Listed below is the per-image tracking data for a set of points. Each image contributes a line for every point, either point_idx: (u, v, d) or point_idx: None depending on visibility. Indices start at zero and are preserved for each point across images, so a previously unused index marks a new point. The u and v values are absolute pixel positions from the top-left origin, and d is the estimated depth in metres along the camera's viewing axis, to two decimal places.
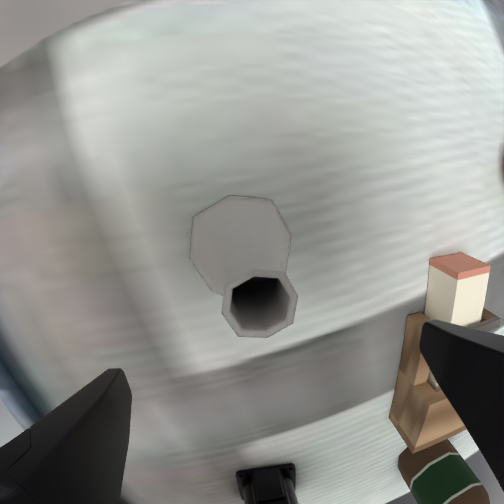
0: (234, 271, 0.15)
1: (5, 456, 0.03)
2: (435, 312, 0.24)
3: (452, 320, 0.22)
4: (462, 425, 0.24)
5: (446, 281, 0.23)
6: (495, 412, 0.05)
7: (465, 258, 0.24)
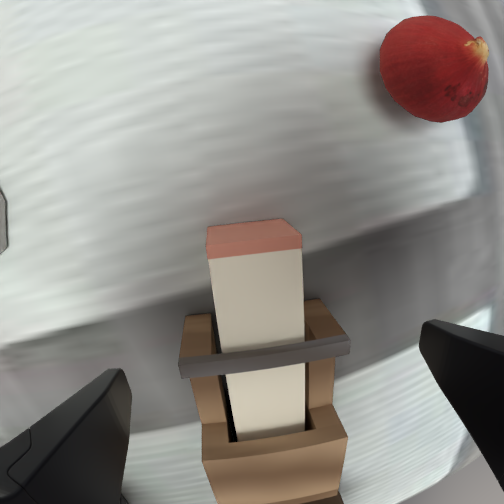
0: None
1: (5, 456, 0.03)
2: None
3: (221, 332, 0.15)
4: (311, 494, 0.17)
5: None
6: (495, 412, 0.05)
7: (272, 225, 0.16)
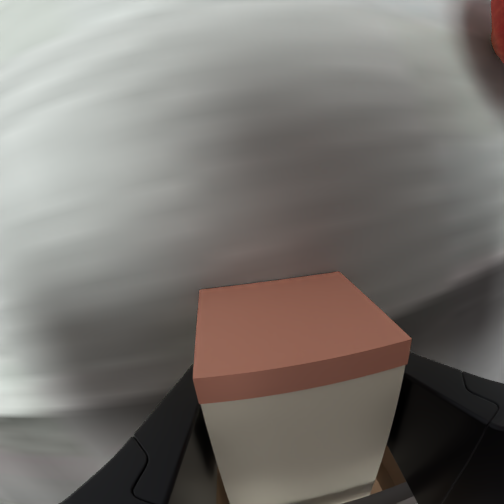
0: None
1: (119, 474, 0.04)
2: None
3: (232, 496, 0.06)
4: None
5: None
6: (420, 450, 0.05)
7: (329, 294, 0.08)
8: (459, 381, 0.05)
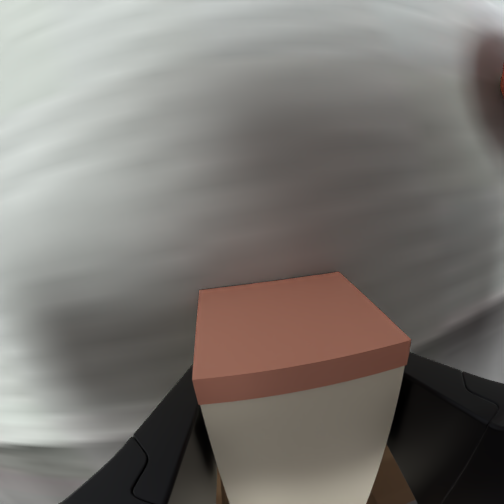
0: None
1: (119, 474, 0.04)
2: None
3: (232, 496, 0.06)
4: None
5: None
6: (420, 450, 0.05)
7: (329, 294, 0.08)
8: (459, 381, 0.05)
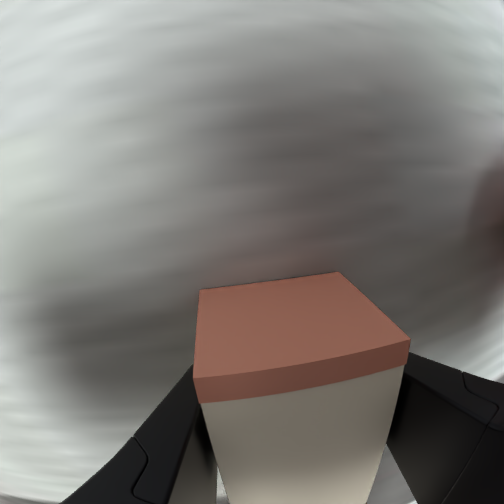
0: None
1: (119, 474, 0.04)
2: None
3: (232, 495, 0.06)
4: None
5: None
6: (420, 449, 0.05)
7: (329, 294, 0.08)
8: (459, 381, 0.05)
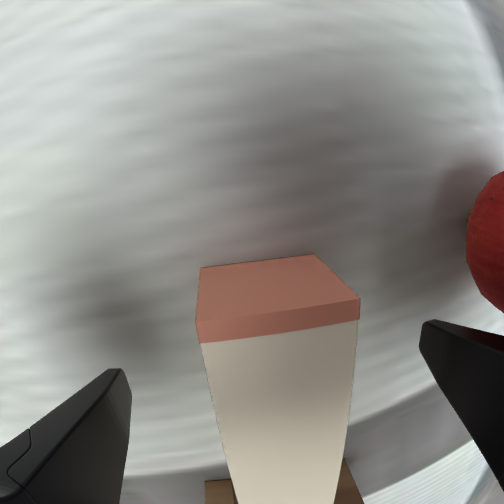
0: None
1: (5, 456, 0.03)
2: None
3: (225, 437, 0.09)
4: None
5: None
6: (495, 412, 0.05)
7: (303, 270, 0.10)
8: None
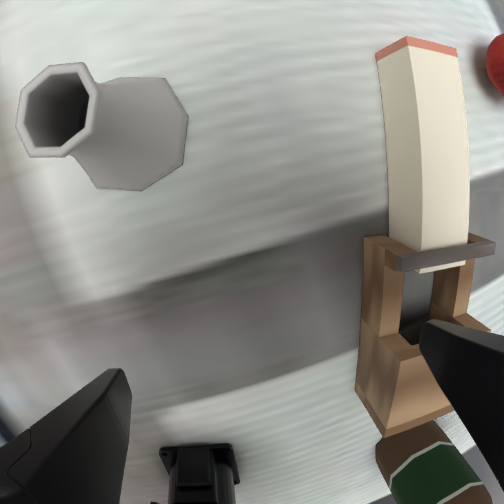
0: (56, 98, 0.09)
1: (5, 456, 0.03)
2: (396, 111, 0.17)
3: (418, 102, 0.15)
4: None
5: (397, 60, 0.15)
6: (495, 412, 0.05)
7: None
8: None
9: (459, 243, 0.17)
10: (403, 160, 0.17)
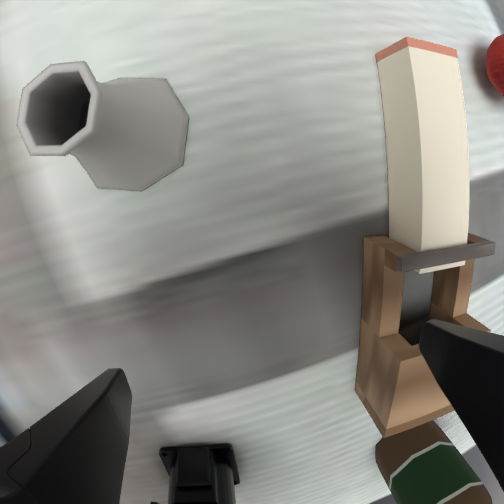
0: (57, 97, 0.09)
1: (5, 456, 0.03)
2: (396, 112, 0.17)
3: (418, 103, 0.15)
4: None
5: (397, 61, 0.15)
6: (495, 412, 0.05)
7: None
8: None
9: (459, 243, 0.17)
10: (403, 160, 0.18)
